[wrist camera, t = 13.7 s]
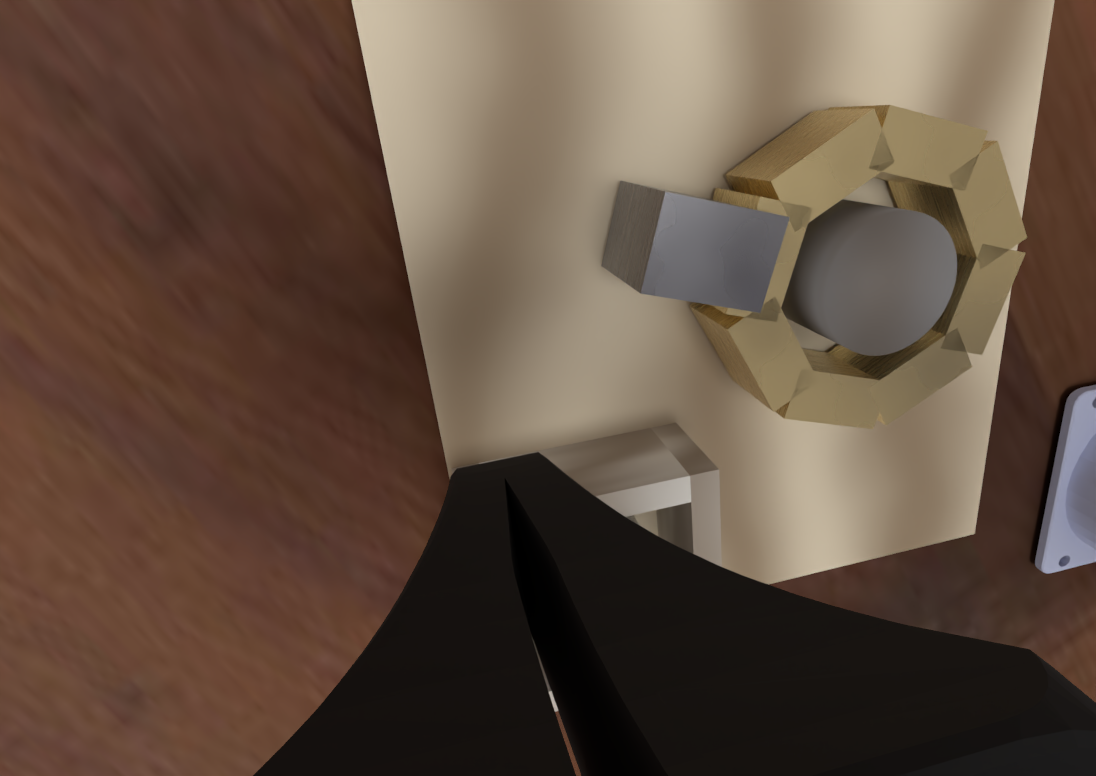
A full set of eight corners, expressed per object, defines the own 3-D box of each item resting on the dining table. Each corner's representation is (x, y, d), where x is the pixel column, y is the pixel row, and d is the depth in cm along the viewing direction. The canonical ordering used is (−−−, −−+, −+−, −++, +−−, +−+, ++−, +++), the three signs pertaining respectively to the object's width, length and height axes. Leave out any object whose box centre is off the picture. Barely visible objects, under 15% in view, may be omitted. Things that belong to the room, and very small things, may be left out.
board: (1027, -77, 18) (1195, -131, 14) (949, 516, 25) (1047, 585, 22) (352, -7, 16) (335, -50, 12) (481, 628, 23) (497, 729, 19)
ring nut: (647, 60, 16) (701, 46, 13) (990, 149, 19) (1099, 153, 16) (579, 365, 19) (611, 410, 16) (890, 405, 21) (968, 450, 18)
